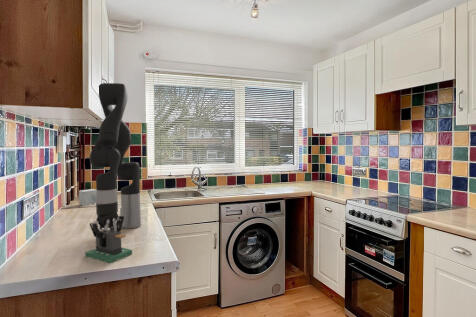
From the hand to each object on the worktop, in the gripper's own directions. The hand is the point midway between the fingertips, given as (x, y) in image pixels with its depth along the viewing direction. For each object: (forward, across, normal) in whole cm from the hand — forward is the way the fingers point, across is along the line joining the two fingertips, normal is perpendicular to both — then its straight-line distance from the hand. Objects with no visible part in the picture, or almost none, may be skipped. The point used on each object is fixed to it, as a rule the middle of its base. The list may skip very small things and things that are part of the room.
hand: (108, 245), depth 112 cm
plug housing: (+1, 0, +2) cm, 2 cm away
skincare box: (+4, -56, -97) cm, 112 cm away
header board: (+4, 0, 0) cm, 4 cm away
